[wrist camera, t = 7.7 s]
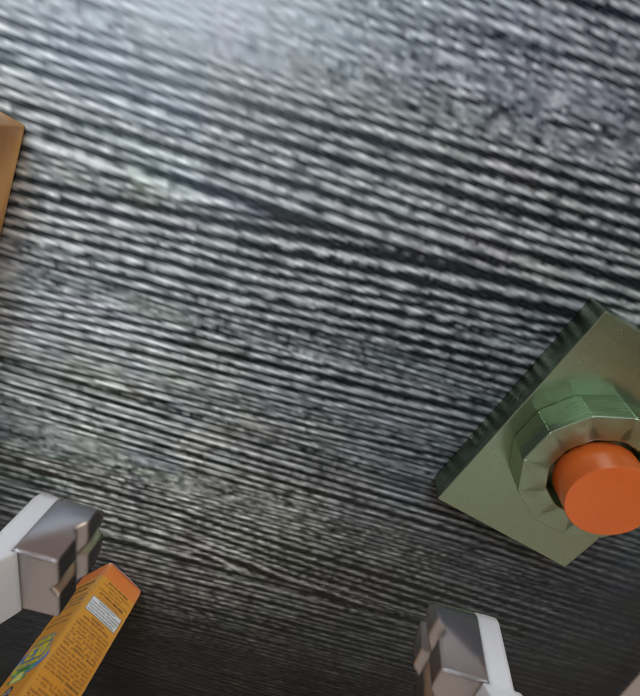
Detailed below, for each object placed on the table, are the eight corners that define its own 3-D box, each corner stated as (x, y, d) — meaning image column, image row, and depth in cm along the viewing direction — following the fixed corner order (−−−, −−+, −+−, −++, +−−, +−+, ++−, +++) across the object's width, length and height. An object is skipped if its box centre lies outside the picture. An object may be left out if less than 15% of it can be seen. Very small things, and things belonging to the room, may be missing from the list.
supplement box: (109, 557, 32) (-1, 722, 23) (143, 589, 33) (51, 761, 24) (78, 573, 33) (-38, 737, 24) (112, 604, 34) (13, 773, 25)
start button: (590, 427, 20) (607, 452, 19) (658, 466, 21) (681, 494, 19) (534, 482, 22) (545, 510, 20) (598, 518, 22) (614, 548, 21)
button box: (590, 297, 21) (626, 326, 18) (733, 384, 22) (791, 426, 19) (434, 477, 26) (440, 524, 23) (555, 542, 27) (577, 597, 24)
